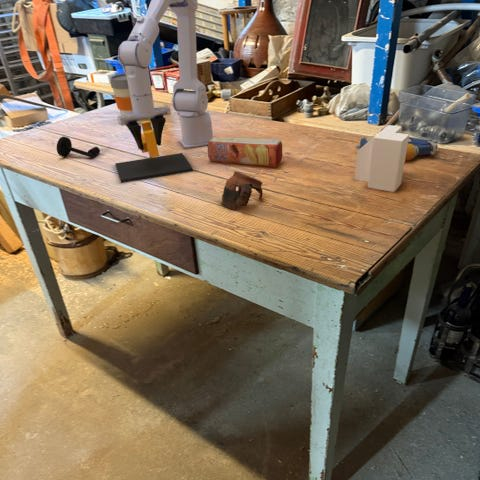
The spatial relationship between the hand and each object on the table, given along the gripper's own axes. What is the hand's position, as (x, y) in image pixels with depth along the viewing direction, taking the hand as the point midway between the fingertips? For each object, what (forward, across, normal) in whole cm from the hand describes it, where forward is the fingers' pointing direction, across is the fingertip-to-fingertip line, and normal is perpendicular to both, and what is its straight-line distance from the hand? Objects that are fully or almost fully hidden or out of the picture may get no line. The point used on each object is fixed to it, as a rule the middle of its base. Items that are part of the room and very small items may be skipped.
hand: (149, 146), depth 131 cm
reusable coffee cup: (+6, -16, -50) cm, 53 cm away
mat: (+6, 0, 0) cm, 6 cm away
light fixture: (+6, +11, -27) cm, 30 cm away
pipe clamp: (+1, 0, 0) cm, 1 cm away
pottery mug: (+6, -6, +37) cm, 38 cm away
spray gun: (+6, -58, +37) cm, 69 cm away
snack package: (+6, -22, +14) cm, 27 cm away
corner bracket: (+6, -41, +47) cm, 63 cm away
